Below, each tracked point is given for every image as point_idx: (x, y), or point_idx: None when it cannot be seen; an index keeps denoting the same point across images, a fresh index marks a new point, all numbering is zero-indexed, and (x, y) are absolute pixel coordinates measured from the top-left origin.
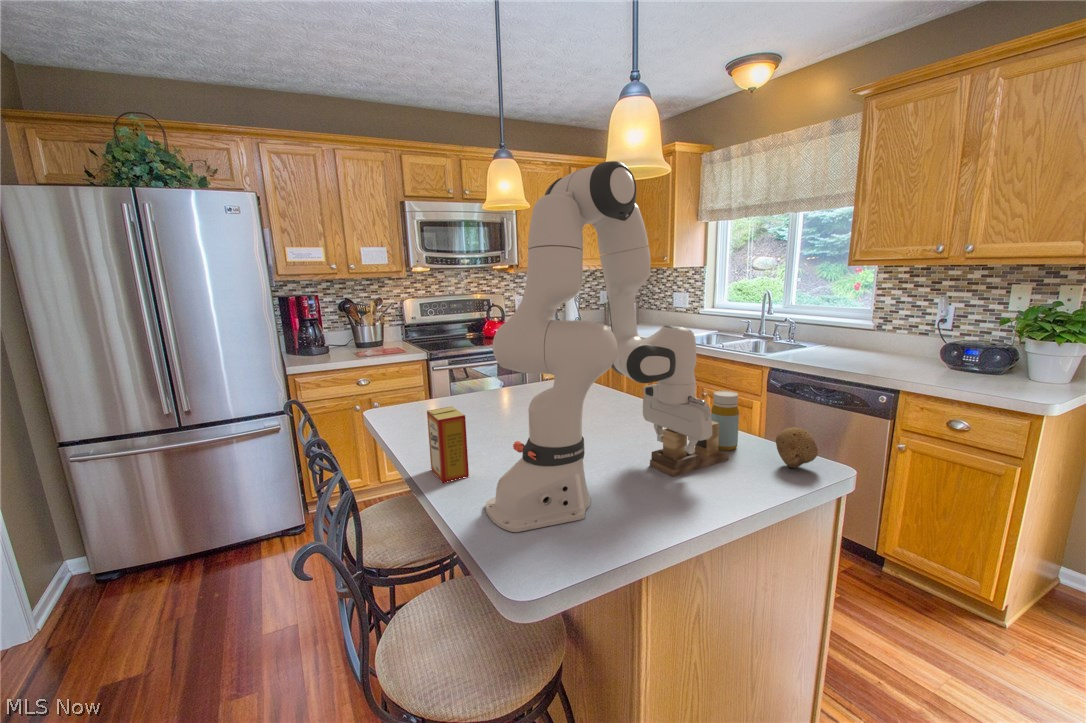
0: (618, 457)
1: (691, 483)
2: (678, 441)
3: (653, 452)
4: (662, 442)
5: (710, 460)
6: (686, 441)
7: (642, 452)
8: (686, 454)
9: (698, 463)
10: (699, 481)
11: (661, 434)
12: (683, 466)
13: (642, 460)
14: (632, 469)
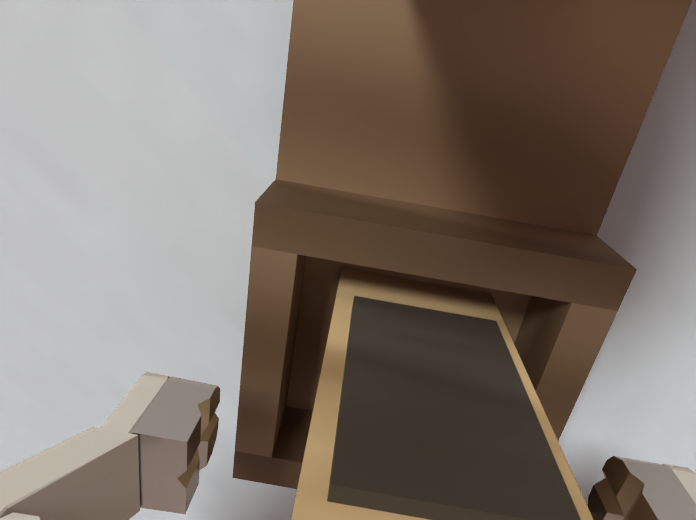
0: (31, 429)
1: (638, 448)
2: None
3: (254, 479)
4: (217, 422)
5: (660, 55)
6: (558, 456)
7: (26, 252)
8: (508, 334)
9: (592, 234)
10: (675, 396)
11: (138, 475)
12: None
13: (161, 370)
14: (238, 502)
